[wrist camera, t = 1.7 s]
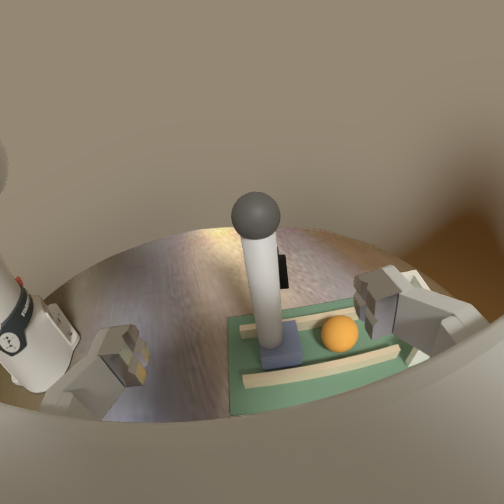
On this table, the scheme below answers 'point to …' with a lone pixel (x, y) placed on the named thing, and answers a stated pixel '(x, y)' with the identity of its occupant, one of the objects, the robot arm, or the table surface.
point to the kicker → (266, 280)
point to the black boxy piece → (282, 271)
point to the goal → (335, 365)
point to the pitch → (304, 364)
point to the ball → (339, 333)
